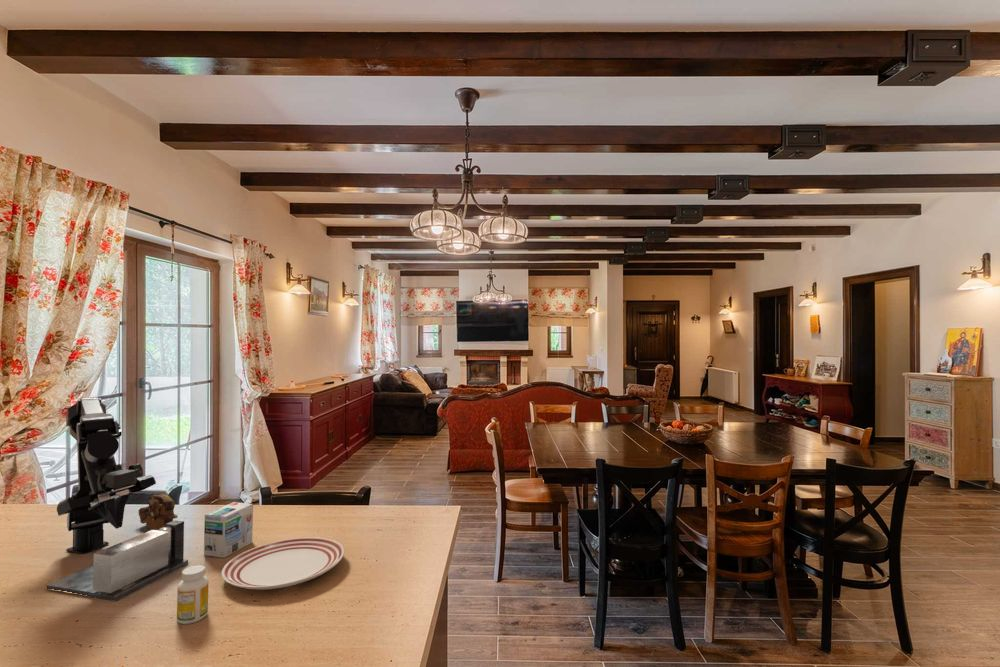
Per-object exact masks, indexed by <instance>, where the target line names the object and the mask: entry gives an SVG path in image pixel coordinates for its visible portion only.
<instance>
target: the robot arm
mask: <svg viewBox="0 0 1000 667" xmlns="http://www.w3.org/2000/svg"><path fill="white" fill-rule="evenodd" d="M76 400H77V401H76V403H74V404H73V405H71V406H69V407H67V409H66V413H65V414H66V415H65V417H66V418H65V424H66V425H65V426H66V427H69V428H68V429H69V434H70V436H71V437H73V439H74V440H76V445H77V446H76V447H77V451H76V452H77V476H78V477H77V481H78V483H77V484H78V491H76V494H75V495H73V496H69V497H68V498H65V499H64V500H62V501H60V502H58V504H57V506H56V512H57V515H58V516H59V517H60V516H63V515H67V516H66V528H67V530H68V532H71V531H72V546H71V547H69V548H66V550H65V551H66V552H69V551H70V552H71V553H76V552H77V554H88V553H89V552H92V551H94V550H97V549H100V548H102V547H104V546H107V545H109V544H110V543H109V541H104V539H105V538H104V537H105V536H104V534H105V533H104V532H105V530H104V524H110V525H111V526H112V527H114V528H115V529H119V528H122V527H123V522H124V514H125V507H126V504H127V501H128V499H129V498H130V497H131V496H133V495H134V494H135V493H138V492H142V491H144V490H146V489H148V488H150V487H153V486H154V485H156V484H157V481H156V478H155V477H154V476H152V474H148V475H145V476H143V475H144V471H143V467H142V464H141V463H135V464H131V465H128V468H126V469H125V468H124V469H123V467H122V465H121V464H120V463H119V464H117V462H116V458H115V454H116V453H117V452H118V450H119V447H120V443H119V440H118V439H120V437H121V436H122V433H123V432H122V428H121V425H120V423H119V422H118V420H117V419H114V416H113V415H112V414H111V413H107V407H106V405H105V404H104V403H102V398H101V397H81V398H79V399H76ZM70 552H69V553H70Z"/></svg>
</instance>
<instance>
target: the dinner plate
mask: <svg viewBox="0 0 1000 667" xmlns="http://www.w3.org/2000/svg"><path fill="white" fill-rule="evenodd" d="M344 556H345V547H344V546H343V545H342V543H340V542H338V541H336V540H333V539H330V538H326V537H318V536H316V537H314V536H313V537H312V536H310V537H309V536H308V537H307V536H305V537H304V536H303V537H293V538H285V539H280V540H275V541H271V542H267V543H264V544H261V545H258V546H255V547H253V548H250V549H247V550H245V551H243V552H241V553H239V554H237V555H236V556H233V558H232V559H230V560H229V561H227V562H226V563H225V564H224V566H223V567H222V570H221V574H220V576H221V578H222V580H224V581H225V583H227V584H229V585H232V586H234V587H237V588H242V589H247V590H248V589H249V590H256V591H257V590H258V591H259V590H264V591H265V590H277V588H278V589H283V587H285V588H289V587H293V586H297V585H300V584H303V583H305V582H308V581H310V580H312V579H316V578H317V577H319V576H322V575H324V574H325V573H326V572H329V571H330V570H331V569H333V568H334V567H336V566H337V565H338V564H339V562H341V561H342V559H343V557H344ZM299 583H300V584H299ZM296 584H297V585H296ZM292 585H293V586H292ZM288 586H289V587H288Z"/></svg>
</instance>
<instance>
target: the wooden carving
mask: <svg viewBox="0 0 1000 667" xmlns="http://www.w3.org/2000/svg"><path fill="white" fill-rule="evenodd" d="M175 502H176V501H175V500H174V499H173V498H171V497H170V495H168V494H166V493H165V494H164V493H162V494H154V495H153V494H152V495H150V496H149V499H148V502H147V503H148V505H147V506H144V507H140V508H139V509H138V517H139V519H140V520H139V522H140V523H141V524H145V525H146V527H147V528H148V529H149V530H158V531H159V529H160V528H163V527H166V524H167V523H169V522H172V521H174V519H177V518H178V515H177V514H175V512H174V509H175V506H176V505H175V504H176V503H175Z"/></svg>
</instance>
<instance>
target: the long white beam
mask: <svg viewBox="0 0 1000 667" xmlns="http://www.w3.org/2000/svg"><path fill="white" fill-rule="evenodd" d="M169 561H171V527H163V528H160V529H159V530H151V529H149V530H148V531H146V532H143V533H141V534H139V535H136V536H134V537H131V538H129V539H126V540H124V541H122V542H119V543H116V544H114V545H112V546H109V547H107V548H104V549H101V550H99V551H97V552H94V553H93V564H92V565H93V590H94V591H100V592H106V593H112V592H114V591H116V590H118V589H120V588H122V587H124V586H126V585H128V584H130V583H132V582H134V581H136V580H138V579H140V578H142V577H144V576H146V575H148V574H150V573H152V572H154V571H156V570H158V569H160V568H162V567H164V566H166V565H168V562H169Z"/></svg>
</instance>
